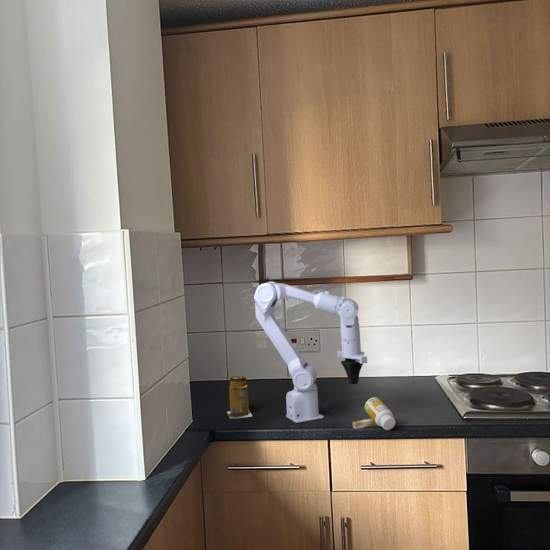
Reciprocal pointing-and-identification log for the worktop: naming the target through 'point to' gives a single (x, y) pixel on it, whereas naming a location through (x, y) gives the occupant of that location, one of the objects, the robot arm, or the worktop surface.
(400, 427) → the worktop surface
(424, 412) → the worktop surface
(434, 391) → the worktop surface
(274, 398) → the worktop surface
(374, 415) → the supplement bottle
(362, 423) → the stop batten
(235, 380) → the condiment
